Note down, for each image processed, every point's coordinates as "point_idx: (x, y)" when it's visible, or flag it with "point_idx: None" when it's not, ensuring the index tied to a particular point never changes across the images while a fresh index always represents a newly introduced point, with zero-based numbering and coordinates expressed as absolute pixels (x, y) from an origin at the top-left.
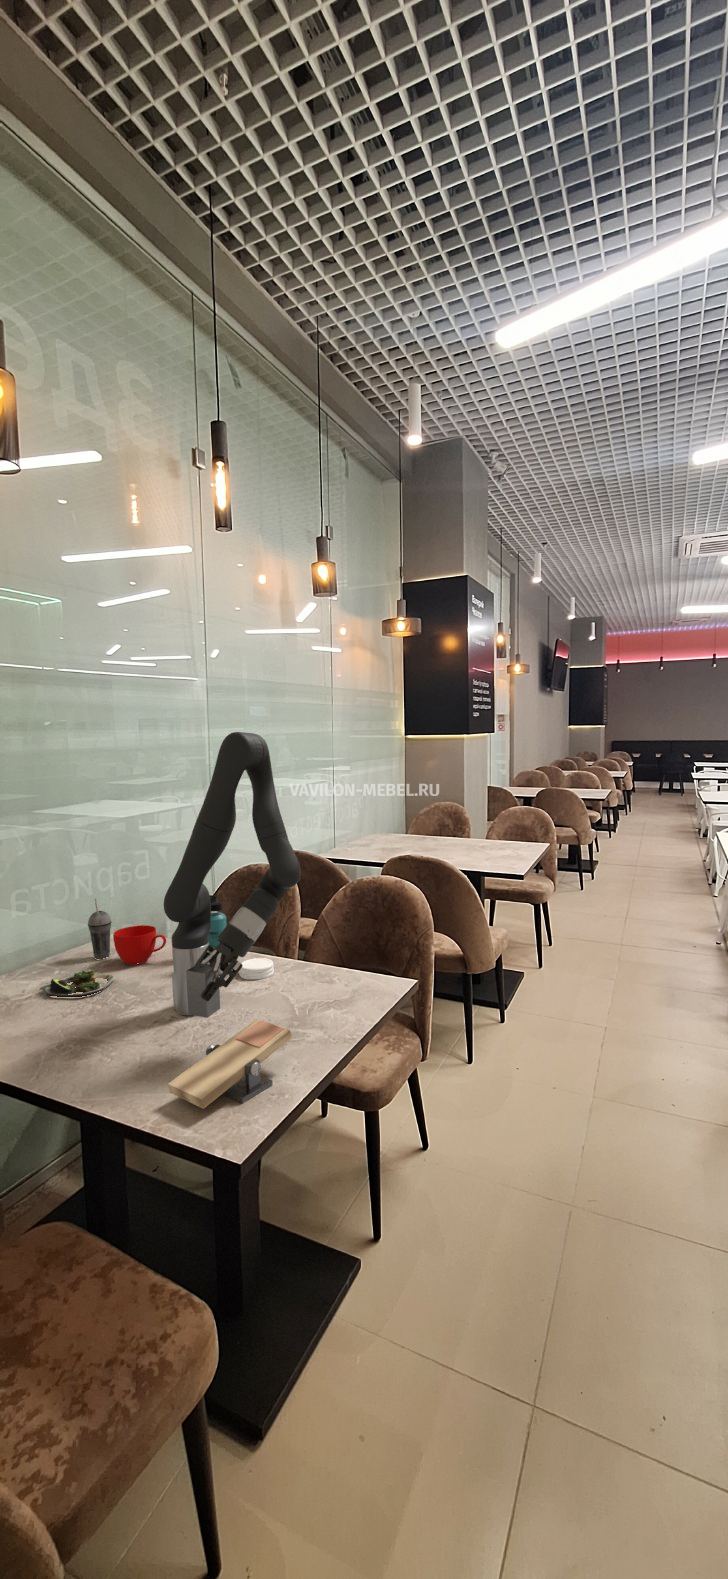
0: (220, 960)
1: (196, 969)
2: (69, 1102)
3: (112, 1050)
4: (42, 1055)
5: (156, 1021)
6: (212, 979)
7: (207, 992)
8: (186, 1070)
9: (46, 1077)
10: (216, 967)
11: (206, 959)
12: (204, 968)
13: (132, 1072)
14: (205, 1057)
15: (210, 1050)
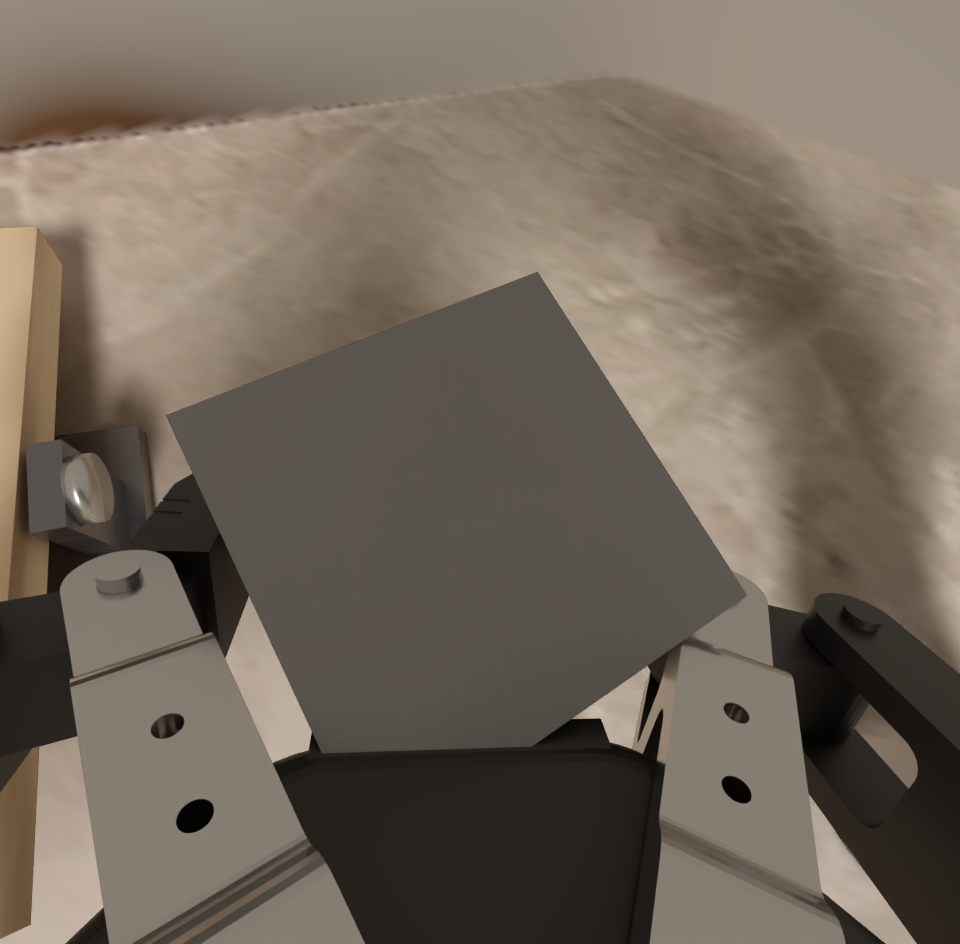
0: (114, 941)
1: (481, 404)
2: (387, 107)
3: (667, 332)
4: (759, 181)
5: (841, 566)
6: (165, 571)
7: (187, 496)
8: (26, 306)
9: (600, 133)
10: (147, 706)
11: (747, 722)
12: (427, 530)
13: (441, 305)
14: (13, 411)
15: (27, 453)
